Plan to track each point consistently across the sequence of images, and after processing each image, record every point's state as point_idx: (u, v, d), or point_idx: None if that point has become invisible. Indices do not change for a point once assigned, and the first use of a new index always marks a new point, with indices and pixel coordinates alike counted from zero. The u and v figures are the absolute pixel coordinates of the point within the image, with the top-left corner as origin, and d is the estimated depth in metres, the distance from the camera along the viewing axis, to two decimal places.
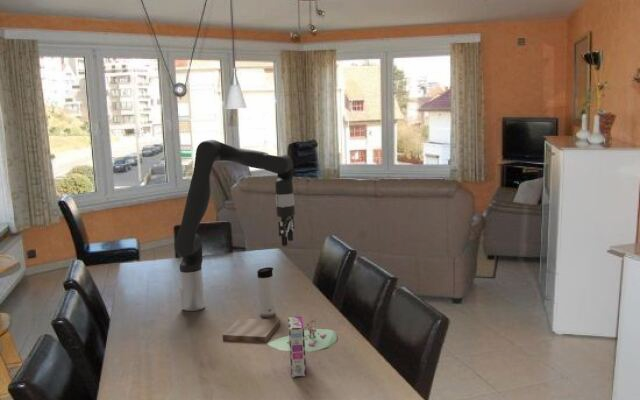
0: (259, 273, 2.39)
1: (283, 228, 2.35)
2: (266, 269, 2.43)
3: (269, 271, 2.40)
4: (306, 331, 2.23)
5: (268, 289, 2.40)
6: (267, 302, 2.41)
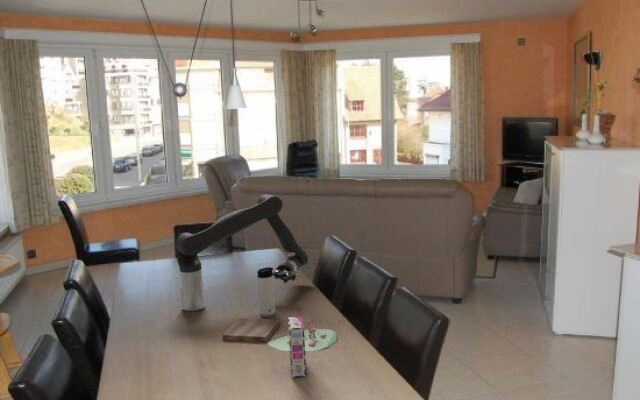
0: (259, 273, 2.39)
1: (295, 277, 2.59)
2: (266, 269, 2.43)
3: (269, 271, 2.40)
4: (306, 331, 2.23)
5: (268, 289, 2.40)
6: (267, 302, 2.41)
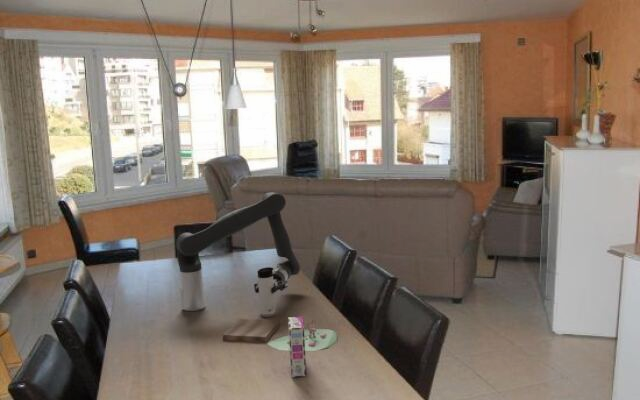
0: (259, 273, 2.39)
1: (285, 287, 2.46)
2: (266, 269, 2.42)
3: (269, 271, 2.39)
4: (306, 331, 2.23)
5: (268, 289, 2.40)
6: (267, 302, 2.41)
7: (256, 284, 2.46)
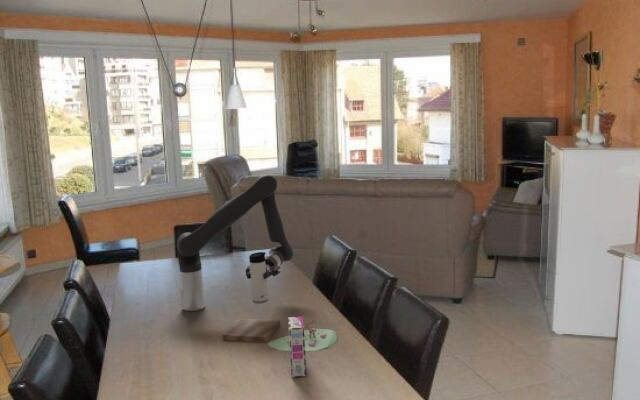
0: (251, 258, 2.30)
1: (278, 273, 2.37)
2: (258, 254, 2.33)
3: (261, 256, 2.30)
4: (306, 331, 2.24)
5: (260, 275, 2.31)
6: (259, 288, 2.31)
7: (248, 270, 2.37)
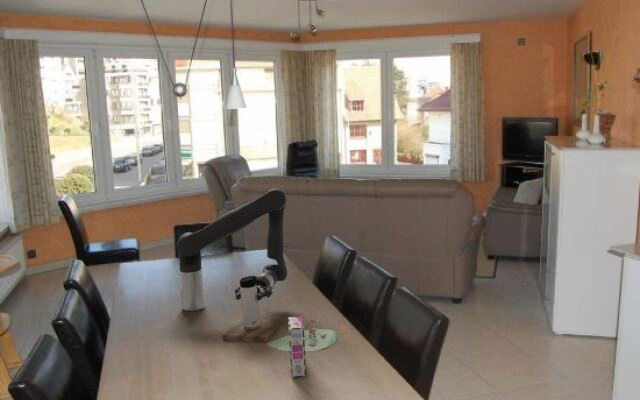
0: (241, 283, 2.21)
1: (271, 293, 2.28)
2: (249, 278, 2.24)
3: (252, 280, 2.21)
4: (306, 331, 2.24)
5: (251, 300, 2.22)
6: (251, 314, 2.22)
7: (237, 290, 2.28)
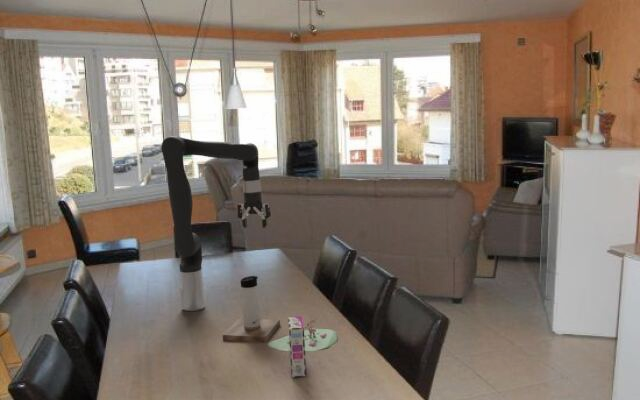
0: (242, 282, 2.21)
1: (269, 209, 2.51)
2: (250, 278, 2.24)
3: (253, 280, 2.21)
4: (306, 331, 2.24)
5: (252, 300, 2.22)
6: (251, 314, 2.22)
7: (240, 217, 2.53)
